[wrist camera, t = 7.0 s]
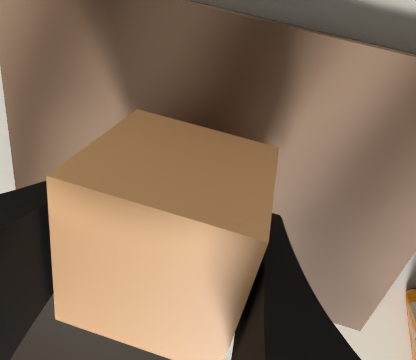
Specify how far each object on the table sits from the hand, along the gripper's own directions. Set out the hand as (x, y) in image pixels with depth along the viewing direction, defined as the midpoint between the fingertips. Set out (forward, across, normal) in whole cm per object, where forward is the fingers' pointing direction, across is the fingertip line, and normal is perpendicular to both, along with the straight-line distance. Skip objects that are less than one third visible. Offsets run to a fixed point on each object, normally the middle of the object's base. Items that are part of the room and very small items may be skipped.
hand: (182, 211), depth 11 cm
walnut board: (+4, 0, 0) cm, 4 cm away
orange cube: (+2, 0, 0) cm, 2 cm away
